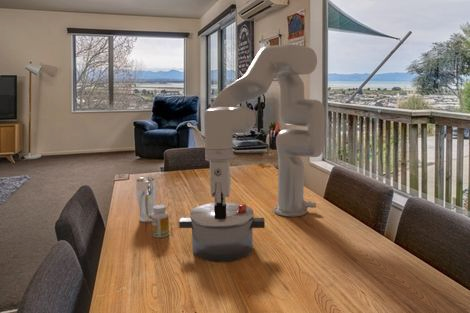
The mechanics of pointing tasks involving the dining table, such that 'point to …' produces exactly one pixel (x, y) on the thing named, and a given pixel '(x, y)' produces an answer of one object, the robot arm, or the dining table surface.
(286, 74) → the robot arm
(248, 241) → the cooking pot
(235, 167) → the dining table surface
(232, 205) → the cooker lid
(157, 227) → the supplement bottle
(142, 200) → the beer glass
